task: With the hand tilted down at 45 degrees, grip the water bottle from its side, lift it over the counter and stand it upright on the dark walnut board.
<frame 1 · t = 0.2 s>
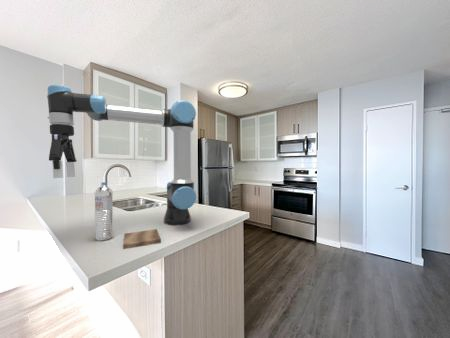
hand: (65, 177, 78), 28 cm above the counter, tool pointing down, fingers open, 13 cm apart
water bottle: (104, 238, 85), on the counter
walnut board: (141, 239, 84), on the counter
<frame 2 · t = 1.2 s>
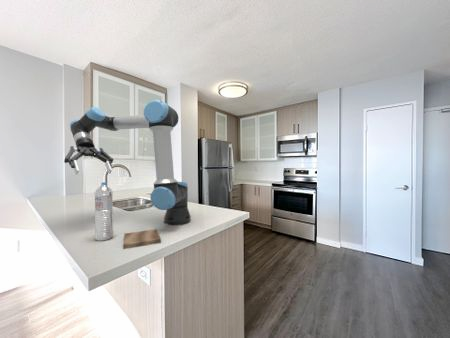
hand: (94, 172, 91), 29 cm above the counter, tool tilted 45°, fingers open, 13 cm apart
nothing on the counter moved.
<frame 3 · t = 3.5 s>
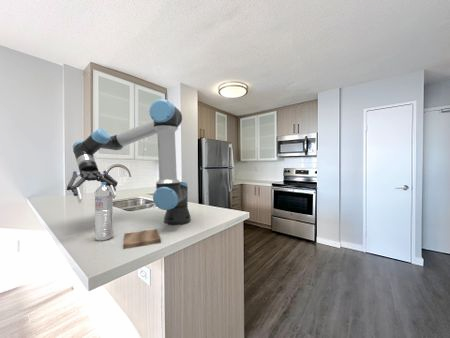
hand: (98, 198, 87), 17 cm above the counter, tool tilted 45°, fingers open, 13 cm apart
nothing on the counter moved.
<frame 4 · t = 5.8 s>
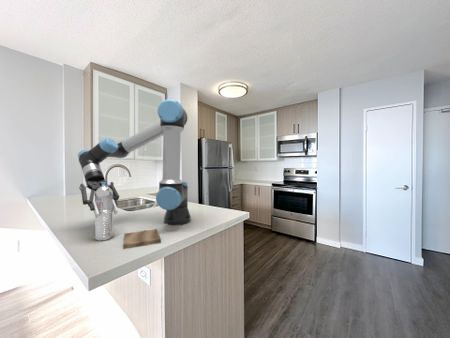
hand: (107, 214, 83), 11 cm above the counter, tool tilted 45°, fingers closed on water bottle, 7 cm apart
water bottle: (104, 238, 85), on the counter, touching gripper
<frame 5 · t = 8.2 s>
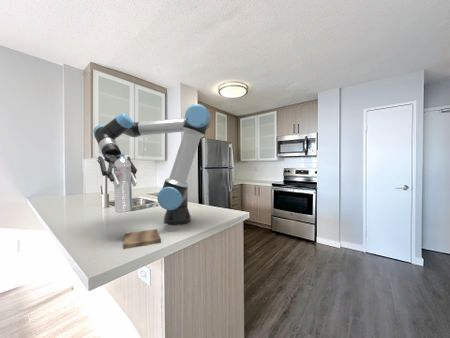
hand: (126, 185, 82), 24 cm above the counter, tool tilted 45°, fingers closed on water bottle, 7 cm apart
water bottle: (123, 211, 84), point 12 cm above the counter, touching gripper
when the fingers open (14 cm above the counter, at t = 10.8 s): water bottle drops 1 cm, resting on walnut board.
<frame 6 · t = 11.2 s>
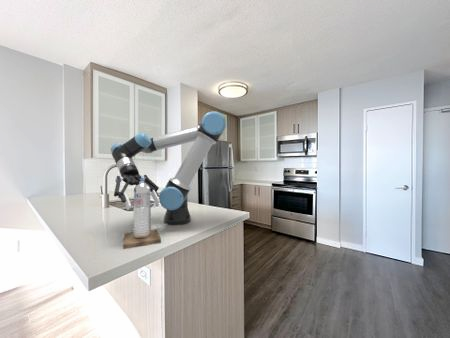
hand: (144, 205, 82), 15 cm above the counter, tool tilted 45°, fingers open, 12 cm apart
water bottle: (142, 236, 84), point 1 cm above the counter, touching walnut board
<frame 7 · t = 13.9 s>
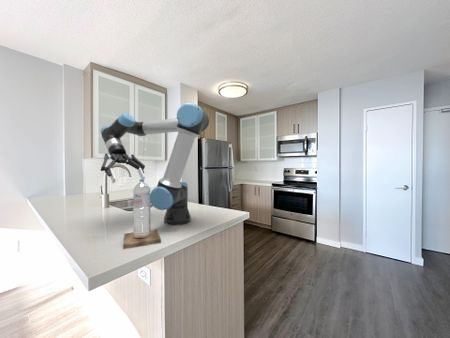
hand: (129, 179, 90), 26 cm above the counter, tool tilted 45°, fingers open, 13 cm apart
nothing on the counter moved.
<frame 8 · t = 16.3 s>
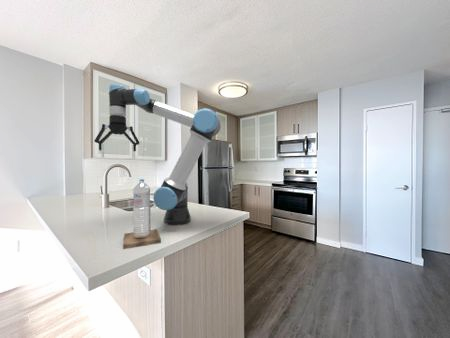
hand: (118, 157, 99), 37 cm above the counter, tool pointing down, fingers open, 13 cm apart
nothing on the counter moved.
at the end: water bottle inside the target area on the walnut board (0.2 cm from its centre), point 1.3 cm above the walnut board's base; water bottle tilted 0°; the gripper is holding nothing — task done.
